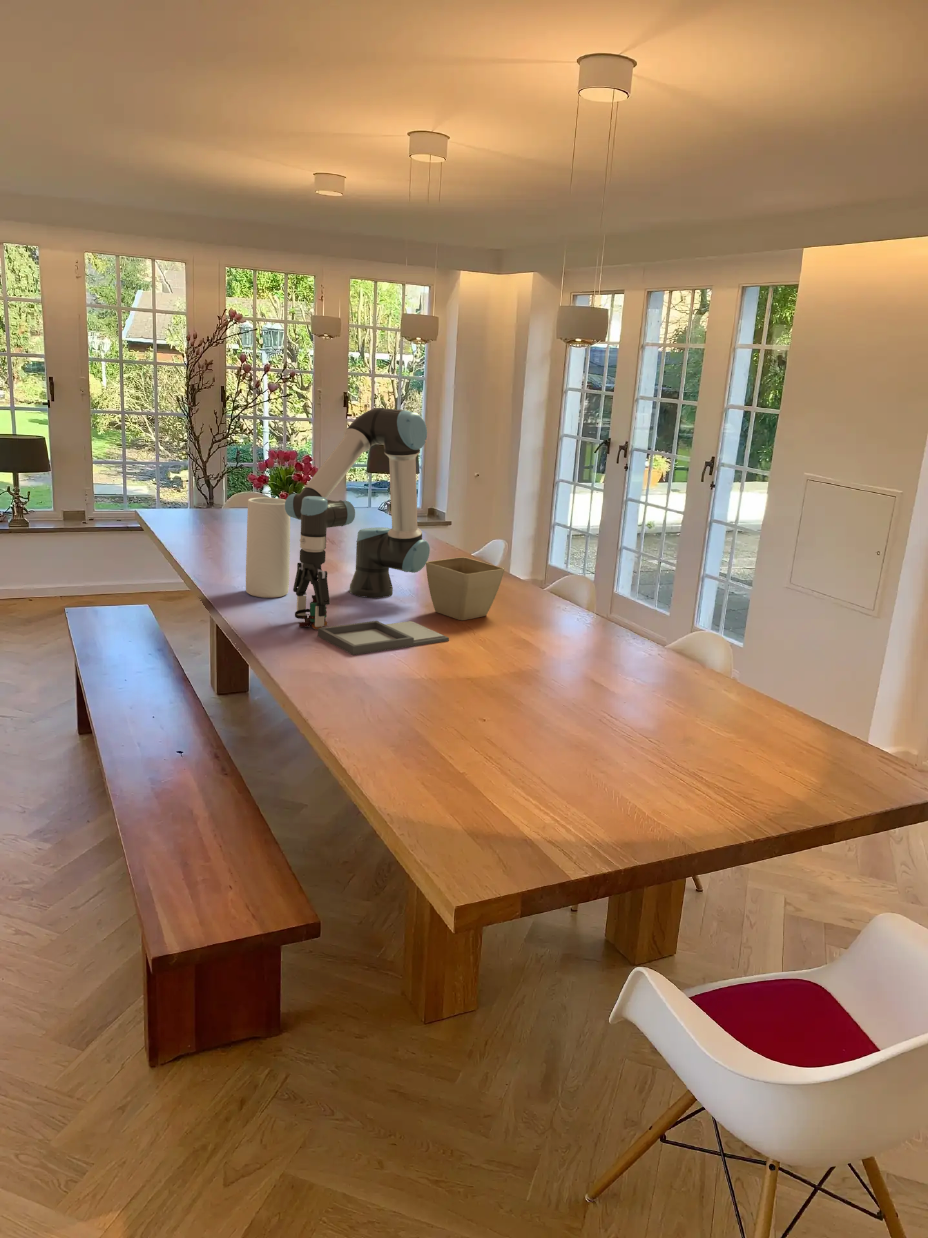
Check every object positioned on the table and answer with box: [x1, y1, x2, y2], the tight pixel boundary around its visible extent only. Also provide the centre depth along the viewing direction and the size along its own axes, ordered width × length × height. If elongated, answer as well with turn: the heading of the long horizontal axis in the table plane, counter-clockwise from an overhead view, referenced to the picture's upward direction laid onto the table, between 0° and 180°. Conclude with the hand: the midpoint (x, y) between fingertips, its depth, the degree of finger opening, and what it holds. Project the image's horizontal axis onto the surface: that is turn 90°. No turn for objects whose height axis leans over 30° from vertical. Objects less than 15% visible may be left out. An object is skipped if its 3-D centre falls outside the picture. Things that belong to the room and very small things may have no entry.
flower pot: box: [425, 556, 505, 621], centre depth 299 cm, size 19×19×17 cm
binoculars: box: [294, 594, 328, 630], centre depth 273 cm, size 9×11×10 cm
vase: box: [245, 497, 291, 599], centre depth 303 cm, size 14×14×32 cm
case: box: [317, 620, 450, 656], centre depth 267 cm, size 33×19×2 cm, turn 129°
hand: (310, 621), depth 274 cm, fingers closed on binoculars, 10 cm apart
